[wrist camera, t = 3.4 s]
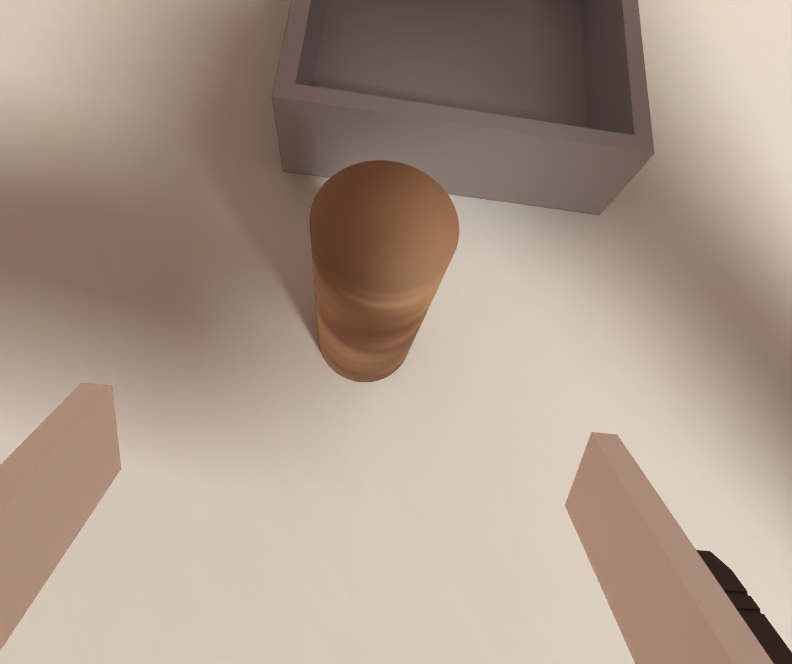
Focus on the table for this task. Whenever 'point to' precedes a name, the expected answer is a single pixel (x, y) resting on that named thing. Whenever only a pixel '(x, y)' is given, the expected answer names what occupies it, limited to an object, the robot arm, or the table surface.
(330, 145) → the tote
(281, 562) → the table surface
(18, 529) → the robot arm
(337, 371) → the walnut cylinder
